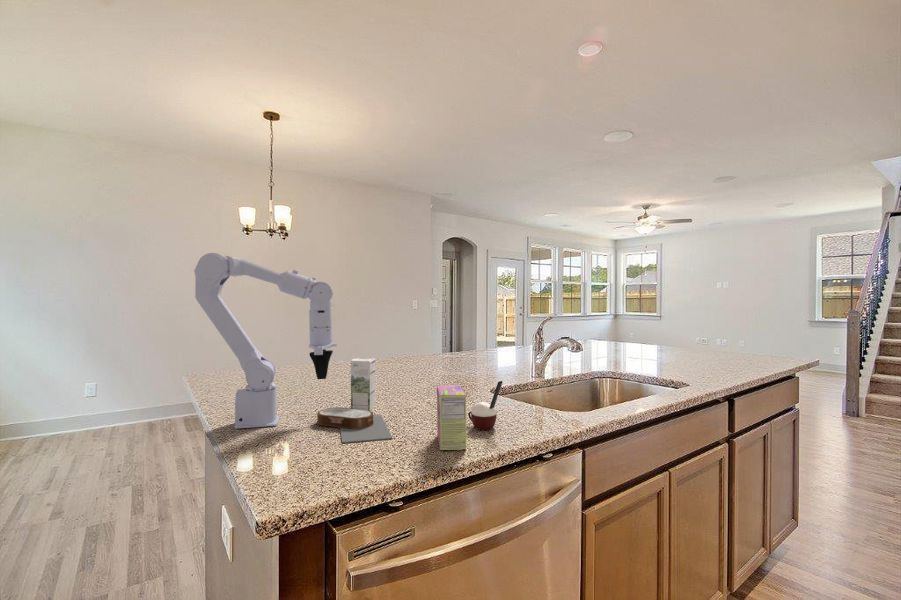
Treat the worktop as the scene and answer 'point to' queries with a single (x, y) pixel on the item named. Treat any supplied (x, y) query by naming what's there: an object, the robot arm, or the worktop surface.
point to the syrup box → (363, 383)
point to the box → (451, 417)
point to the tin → (345, 418)
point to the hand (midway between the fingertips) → (321, 378)
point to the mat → (367, 432)
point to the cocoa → (485, 412)
